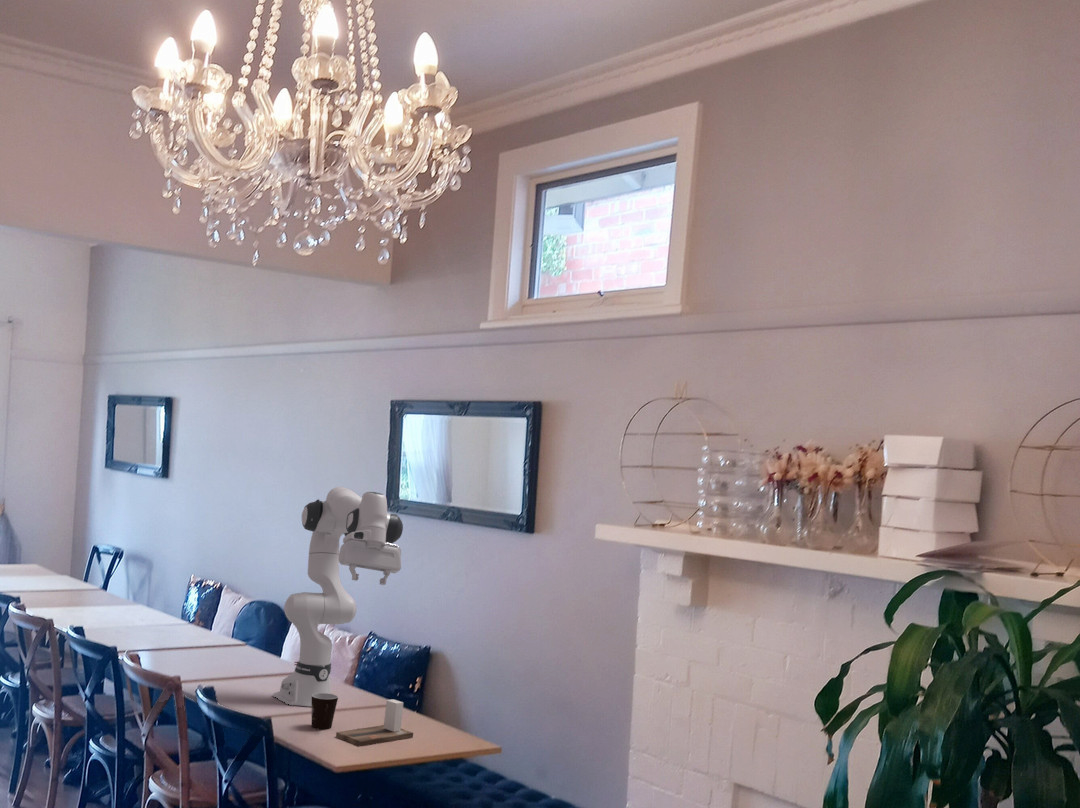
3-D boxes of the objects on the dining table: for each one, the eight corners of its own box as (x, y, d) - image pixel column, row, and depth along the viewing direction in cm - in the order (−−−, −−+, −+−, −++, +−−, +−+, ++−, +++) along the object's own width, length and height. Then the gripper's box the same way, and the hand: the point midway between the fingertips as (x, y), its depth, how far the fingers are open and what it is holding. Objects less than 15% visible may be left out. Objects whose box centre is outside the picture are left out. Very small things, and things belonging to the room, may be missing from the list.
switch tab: (383, 728, 331) (386, 700, 331) (390, 727, 333) (393, 699, 334) (393, 731, 327) (396, 703, 328) (400, 730, 330) (403, 702, 330)
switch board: (335, 736, 320) (336, 731, 321) (388, 728, 337) (389, 724, 337) (359, 746, 312) (360, 741, 313) (412, 737, 329) (413, 732, 329)
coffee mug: (312, 722, 335) (316, 691, 336) (338, 725, 334) (341, 695, 335) (301, 730, 324) (304, 699, 325) (327, 734, 323) (330, 702, 324)
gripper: (396, 548, 329) (394, 589, 323) (338, 537, 319) (334, 579, 313) (405, 542, 325) (403, 584, 319) (346, 531, 315) (343, 574, 308)
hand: (369, 582), depth 316 cm, fingers open, 8 cm apart
